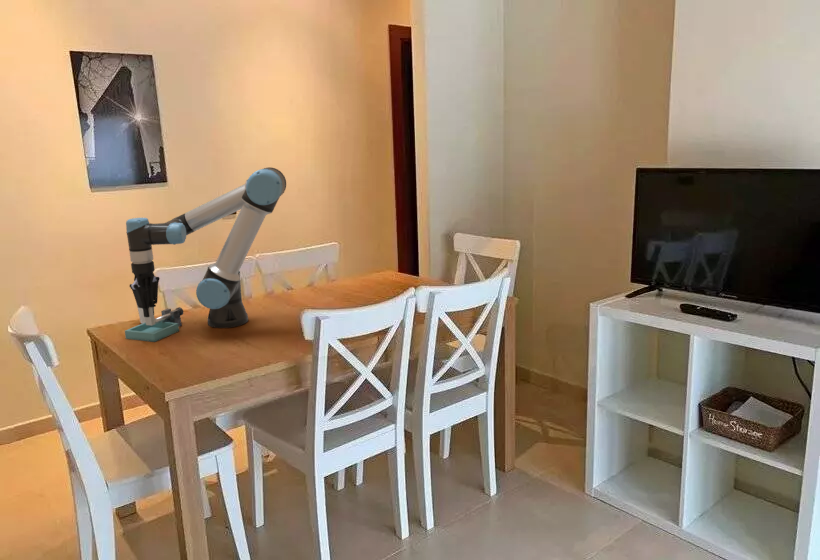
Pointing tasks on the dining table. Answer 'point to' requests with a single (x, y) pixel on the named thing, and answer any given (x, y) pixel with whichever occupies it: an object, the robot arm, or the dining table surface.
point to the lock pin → (166, 316)
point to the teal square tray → (151, 331)
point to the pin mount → (172, 316)
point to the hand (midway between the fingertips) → (150, 324)
